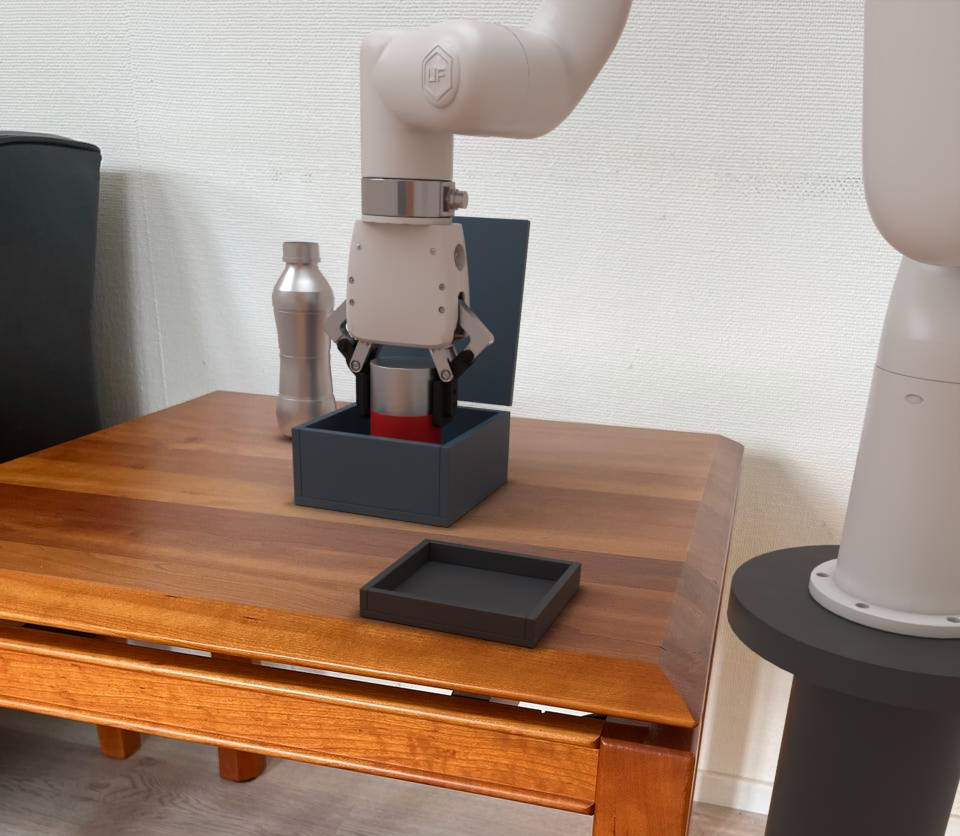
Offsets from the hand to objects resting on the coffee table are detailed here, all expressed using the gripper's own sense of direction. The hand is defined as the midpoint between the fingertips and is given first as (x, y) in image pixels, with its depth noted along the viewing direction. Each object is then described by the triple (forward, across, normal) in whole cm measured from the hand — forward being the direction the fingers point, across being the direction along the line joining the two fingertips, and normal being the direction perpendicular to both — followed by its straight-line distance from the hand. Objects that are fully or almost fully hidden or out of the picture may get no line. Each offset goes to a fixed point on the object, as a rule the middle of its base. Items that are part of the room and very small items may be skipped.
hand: (406, 418), depth 92 cm
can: (+6, 0, 0) cm, 6 cm away
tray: (+7, -15, +22) cm, 27 cm away
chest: (+7, 0, 0) cm, 7 cm away
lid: (-9, 0, -9) cm, 12 cm away
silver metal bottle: (+7, +18, -14) cm, 24 cm away
